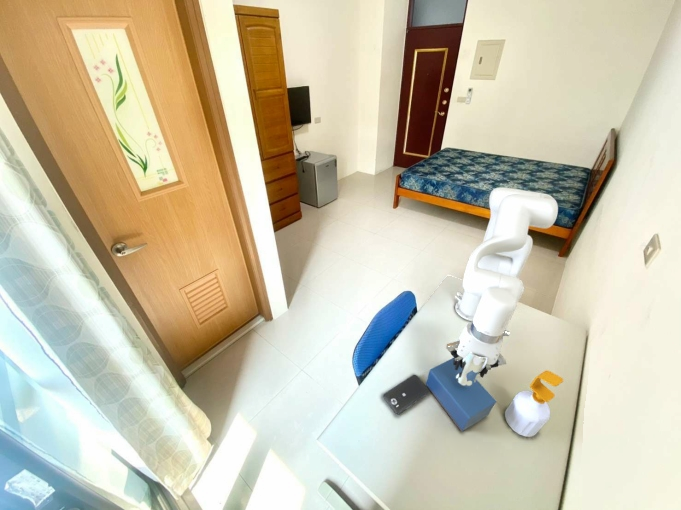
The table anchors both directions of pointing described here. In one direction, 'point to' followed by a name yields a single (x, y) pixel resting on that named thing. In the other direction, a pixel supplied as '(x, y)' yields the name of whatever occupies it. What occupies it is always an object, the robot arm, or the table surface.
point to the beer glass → (470, 369)
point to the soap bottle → (532, 406)
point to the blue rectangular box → (459, 396)
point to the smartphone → (406, 394)
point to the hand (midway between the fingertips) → (468, 369)
